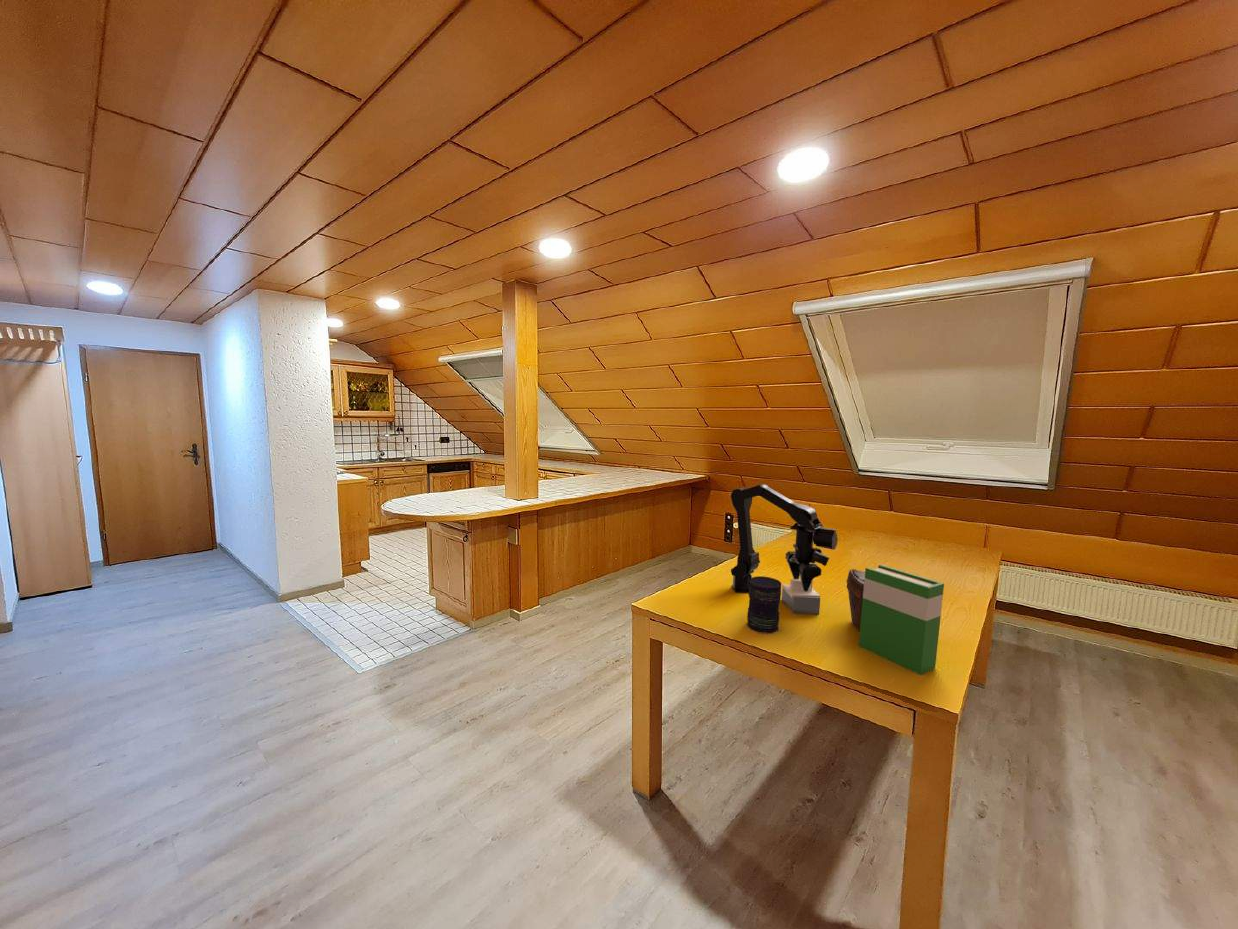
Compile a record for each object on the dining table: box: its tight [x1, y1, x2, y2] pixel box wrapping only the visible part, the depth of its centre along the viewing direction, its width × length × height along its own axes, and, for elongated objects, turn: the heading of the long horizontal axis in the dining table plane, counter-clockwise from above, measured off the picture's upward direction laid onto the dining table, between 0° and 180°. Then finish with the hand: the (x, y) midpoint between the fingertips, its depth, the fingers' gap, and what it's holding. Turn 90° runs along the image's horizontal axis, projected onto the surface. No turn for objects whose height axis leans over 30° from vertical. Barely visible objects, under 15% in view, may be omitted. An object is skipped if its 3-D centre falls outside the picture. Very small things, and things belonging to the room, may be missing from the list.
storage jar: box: [746, 575, 782, 634], centre depth 154 cm, size 10×10×15 cm
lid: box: [782, 578, 821, 598], centre depth 171 cm, size 10×10×5 cm
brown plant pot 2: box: [846, 568, 865, 630], centre depth 156 cm, size 18×20×18 cm
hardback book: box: [858, 564, 945, 676], centre depth 137 cm, size 18×7×24 cm, turn 30°
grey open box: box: [781, 585, 821, 615], centre depth 172 cm, size 9×12×6 cm
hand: (800, 586), depth 171 cm, fingers open, 9 cm apart
